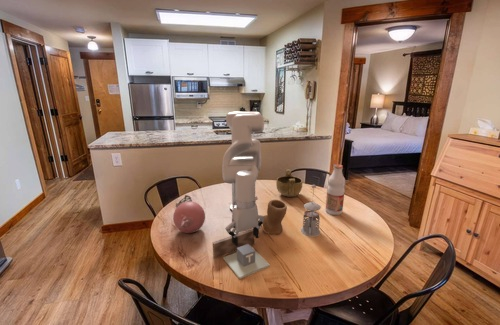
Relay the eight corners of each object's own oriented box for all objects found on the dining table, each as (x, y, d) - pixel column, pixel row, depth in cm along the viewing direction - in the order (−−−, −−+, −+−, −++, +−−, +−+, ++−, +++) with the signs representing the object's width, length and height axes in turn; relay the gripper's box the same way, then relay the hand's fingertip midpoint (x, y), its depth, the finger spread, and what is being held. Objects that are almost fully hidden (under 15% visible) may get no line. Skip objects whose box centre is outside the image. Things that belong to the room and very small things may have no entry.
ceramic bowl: (304, 202, 161) (305, 179, 157) (277, 202, 161) (277, 179, 157) (299, 188, 182) (300, 168, 178) (275, 188, 183) (275, 168, 178)
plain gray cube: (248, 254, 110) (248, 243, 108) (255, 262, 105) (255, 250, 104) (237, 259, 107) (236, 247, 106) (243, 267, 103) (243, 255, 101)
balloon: (165, 244, 119) (162, 214, 115) (181, 222, 138) (178, 195, 134) (197, 246, 118) (195, 215, 113) (209, 223, 137) (207, 197, 132)
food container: (187, 221, 139) (186, 204, 136) (177, 220, 140) (175, 203, 137) (196, 211, 150) (195, 195, 147) (186, 210, 151) (185, 194, 149)
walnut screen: (252, 242, 120) (252, 228, 118) (254, 243, 119) (254, 230, 117) (213, 256, 110) (212, 242, 108) (214, 258, 109) (214, 244, 107)
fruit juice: (323, 207, 154) (327, 162, 146) (339, 208, 153) (344, 163, 145) (327, 215, 145) (331, 168, 137) (344, 215, 144) (349, 168, 136)
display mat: (251, 248, 116) (251, 246, 115) (269, 266, 104) (269, 264, 104) (223, 258, 109) (223, 257, 108) (239, 279, 97) (239, 277, 97)
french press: (321, 228, 132) (325, 182, 125) (319, 240, 121) (323, 191, 114) (302, 224, 135) (304, 180, 128) (298, 236, 125) (301, 188, 117)
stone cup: (287, 236, 125) (288, 208, 121) (262, 235, 125) (263, 207, 121) (283, 220, 140) (284, 195, 135) (261, 220, 140) (262, 194, 136)
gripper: (258, 193, 106) (258, 229, 112) (220, 203, 98) (222, 242, 103) (269, 200, 100) (268, 238, 105) (229, 212, 92) (231, 252, 97)
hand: (245, 240), depth 104 cm, fingers open, 9 cm apart
